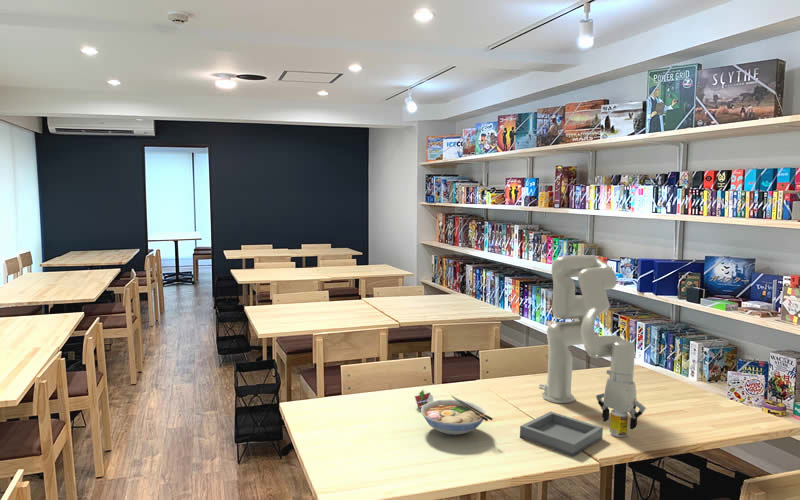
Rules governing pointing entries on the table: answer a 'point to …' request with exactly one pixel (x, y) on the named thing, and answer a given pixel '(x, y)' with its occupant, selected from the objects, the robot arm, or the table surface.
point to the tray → (561, 433)
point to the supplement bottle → (618, 423)
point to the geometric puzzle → (423, 398)
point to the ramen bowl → (453, 416)
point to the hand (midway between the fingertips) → (619, 424)
